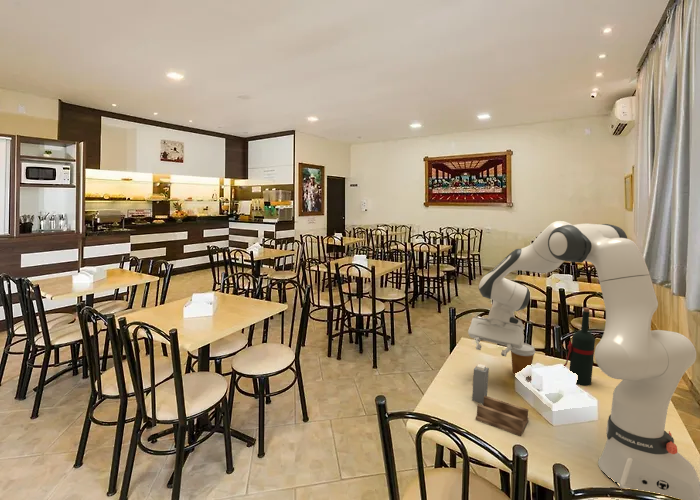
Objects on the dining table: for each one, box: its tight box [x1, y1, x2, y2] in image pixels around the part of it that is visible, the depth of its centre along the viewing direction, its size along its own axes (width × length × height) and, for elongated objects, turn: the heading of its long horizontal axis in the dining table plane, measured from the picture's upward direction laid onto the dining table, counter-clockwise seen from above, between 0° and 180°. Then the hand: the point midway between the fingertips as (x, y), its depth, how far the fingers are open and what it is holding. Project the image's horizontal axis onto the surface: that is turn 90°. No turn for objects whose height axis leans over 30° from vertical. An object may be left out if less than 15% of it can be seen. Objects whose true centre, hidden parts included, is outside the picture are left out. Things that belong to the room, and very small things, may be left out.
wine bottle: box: [563, 307, 596, 387], centre depth 146 cm, size 8×10×30 cm
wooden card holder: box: [474, 395, 529, 437], centre depth 122 cm, size 14×10×4 cm
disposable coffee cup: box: [510, 342, 536, 375], centre depth 153 cm, size 10×10×12 cm
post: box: [471, 363, 490, 405], centre depth 133 cm, size 4×4×13 cm
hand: (490, 352), depth 140 cm, fingers open, 8 cm apart
